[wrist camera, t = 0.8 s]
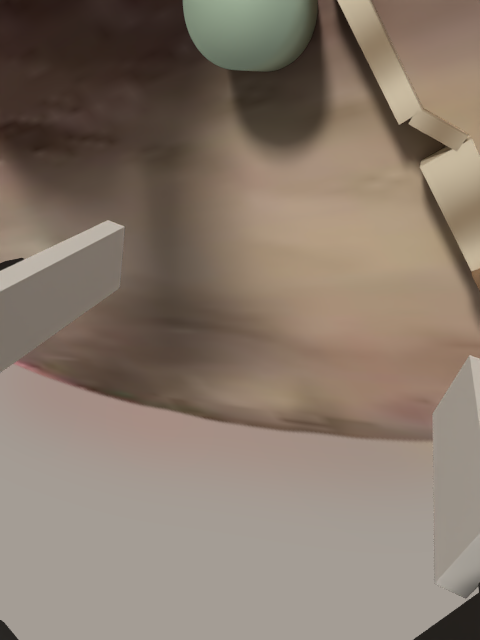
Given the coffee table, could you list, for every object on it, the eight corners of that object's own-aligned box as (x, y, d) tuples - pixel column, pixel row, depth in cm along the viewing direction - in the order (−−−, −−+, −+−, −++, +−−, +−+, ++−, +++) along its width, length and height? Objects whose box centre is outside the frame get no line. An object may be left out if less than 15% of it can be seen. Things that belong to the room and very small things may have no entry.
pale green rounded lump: (203, 1, 33) (161, -13, 28) (283, -79, 29) (252, -112, 24) (254, 92, 34) (223, 94, 29) (336, 27, 30) (317, 16, 25)
